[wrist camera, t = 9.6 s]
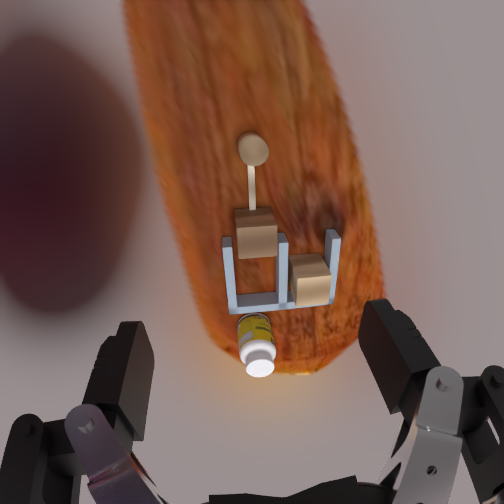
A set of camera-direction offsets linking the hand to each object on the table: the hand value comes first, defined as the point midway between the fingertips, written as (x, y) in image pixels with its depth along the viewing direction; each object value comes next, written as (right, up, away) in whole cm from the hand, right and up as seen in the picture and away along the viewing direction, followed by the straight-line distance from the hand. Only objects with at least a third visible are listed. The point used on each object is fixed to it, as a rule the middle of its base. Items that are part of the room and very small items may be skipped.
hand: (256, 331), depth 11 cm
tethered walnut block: (0, +11, +28) cm, 30 cm away
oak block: (+7, 0, +35) cm, 36 cm away
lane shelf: (+4, +1, +34) cm, 35 cm away
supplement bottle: (0, -9, +40) cm, 41 cm away
